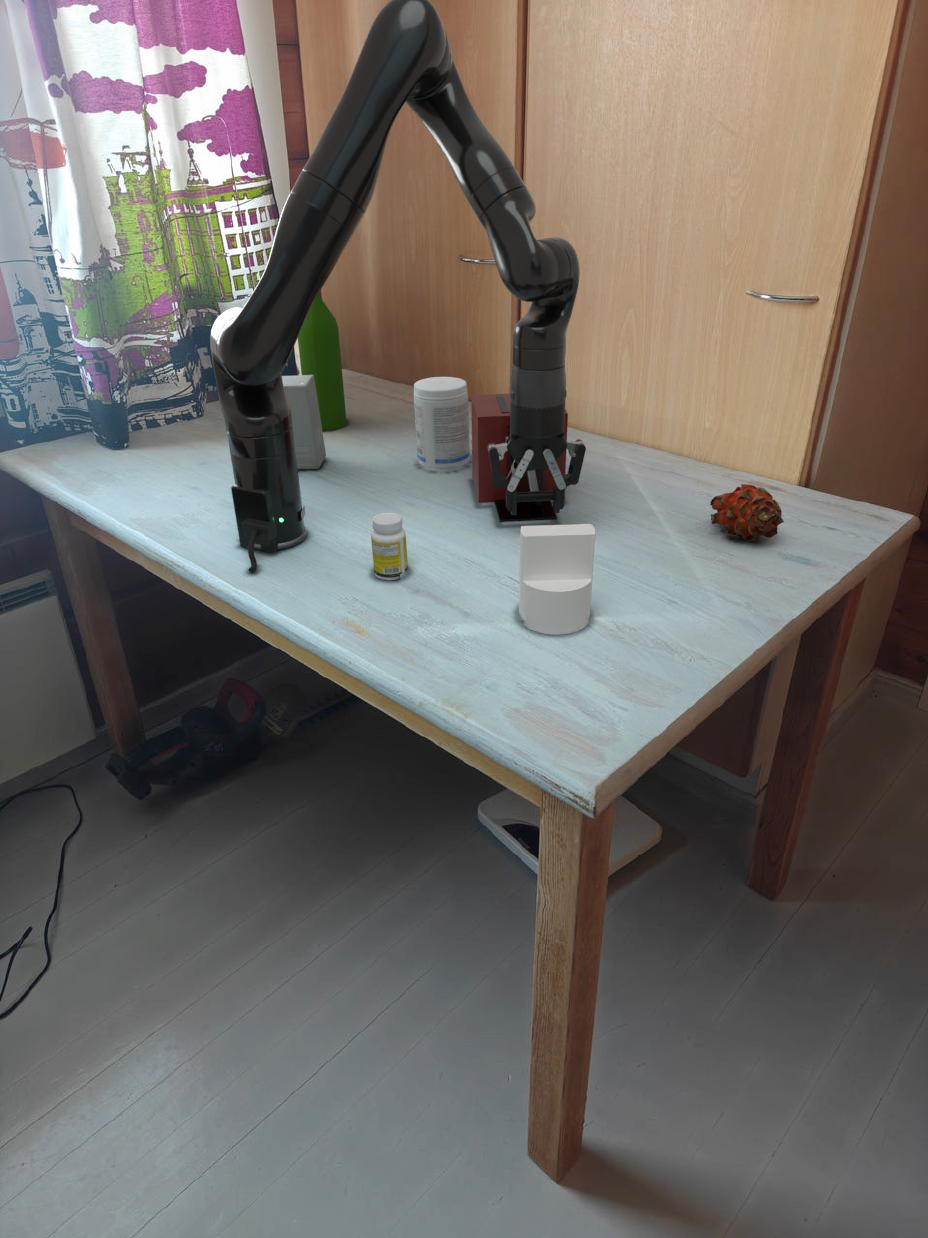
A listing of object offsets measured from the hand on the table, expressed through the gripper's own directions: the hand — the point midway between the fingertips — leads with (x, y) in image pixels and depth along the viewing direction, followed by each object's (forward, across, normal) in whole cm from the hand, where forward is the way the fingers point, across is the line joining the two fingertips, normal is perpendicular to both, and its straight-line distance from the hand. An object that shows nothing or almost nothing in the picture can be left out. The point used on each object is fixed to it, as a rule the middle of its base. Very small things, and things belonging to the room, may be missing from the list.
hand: (534, 511), depth 128 cm
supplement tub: (+5, +12, -35) cm, 37 cm away
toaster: (+5, 0, -20) cm, 21 cm away
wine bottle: (+5, +35, -61) cm, 70 cm away
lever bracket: (+5, 0, -11) cm, 12 cm away
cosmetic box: (+5, +38, -37) cm, 53 cm away
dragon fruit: (+5, -31, +1) cm, 32 cm away
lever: (-4, 0, -6) cm, 7 cm away
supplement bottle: (+5, +21, +8) cm, 23 cm away
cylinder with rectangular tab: (+5, 0, +22) cm, 23 cm away
